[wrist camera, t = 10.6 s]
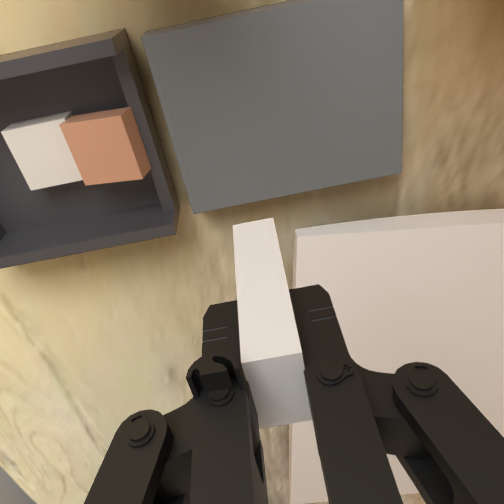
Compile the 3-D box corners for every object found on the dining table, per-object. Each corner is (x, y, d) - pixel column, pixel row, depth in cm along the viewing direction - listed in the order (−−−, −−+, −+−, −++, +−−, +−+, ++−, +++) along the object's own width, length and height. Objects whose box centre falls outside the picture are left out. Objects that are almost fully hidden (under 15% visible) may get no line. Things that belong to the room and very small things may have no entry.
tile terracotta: (71, 115, 34) (59, 124, 33) (130, 106, 33) (120, 115, 31) (96, 174, 37) (85, 185, 35) (151, 168, 36) (142, 179, 34)
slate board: (146, 31, 33) (140, 37, 30) (388, -21, 32) (403, -20, 29) (194, 198, 40) (193, 213, 38) (390, 159, 40) (401, 172, 37)
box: (-95, 75, 33) (-140, 92, 29) (124, 28, 32) (111, 38, 28) (3, 241, 41) (-21, 272, 37) (179, 206, 41) (176, 234, 37)
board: (289, 211, 42) (297, 236, 38) (613, 190, 43) (653, 212, 40) (285, 473, 67) (290, 504, 63) (492, 454, 68) (509, 484, 64)
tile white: (10, 123, 35) (0, 131, 33) (71, 110, 35) (64, 118, 33) (39, 180, 38) (31, 190, 36) (95, 168, 38) (89, 178, 36)
